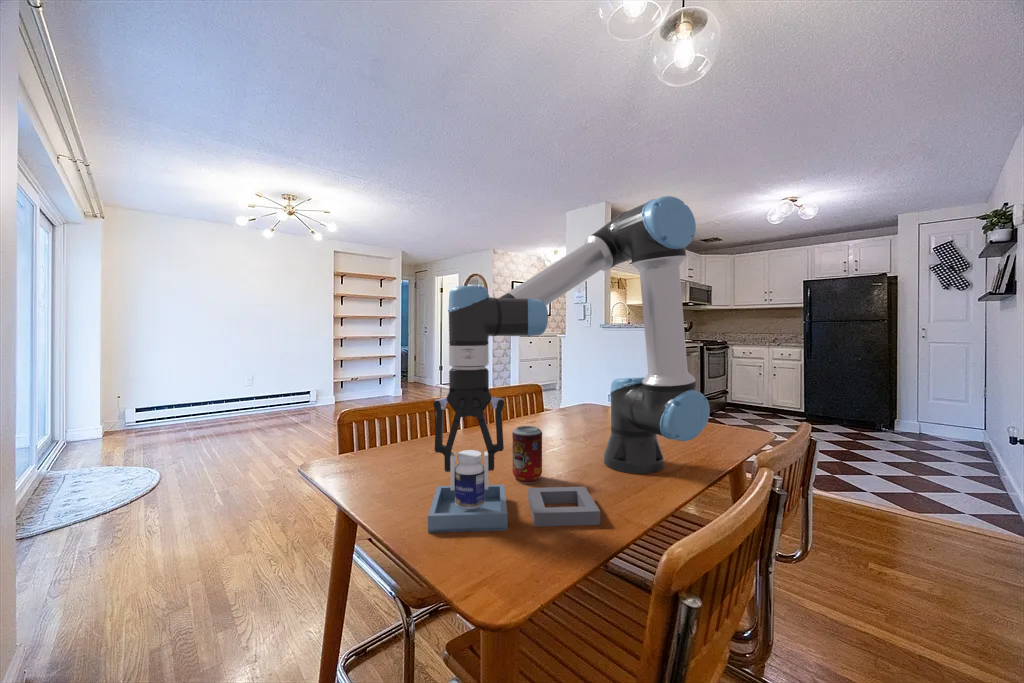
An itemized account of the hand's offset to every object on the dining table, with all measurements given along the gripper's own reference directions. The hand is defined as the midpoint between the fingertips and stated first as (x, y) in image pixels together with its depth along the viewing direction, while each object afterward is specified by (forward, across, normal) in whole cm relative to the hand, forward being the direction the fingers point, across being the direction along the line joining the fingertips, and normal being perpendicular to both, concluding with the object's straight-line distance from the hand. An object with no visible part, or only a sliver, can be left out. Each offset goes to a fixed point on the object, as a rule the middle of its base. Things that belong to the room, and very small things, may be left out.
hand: (469, 487), depth 81 cm
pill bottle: (+4, 0, 0) cm, 4 cm away
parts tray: (+5, 0, 0) cm, 5 cm away
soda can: (+6, +13, +18) cm, 23 cm away
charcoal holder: (+5, +18, 0) cm, 19 cm away
